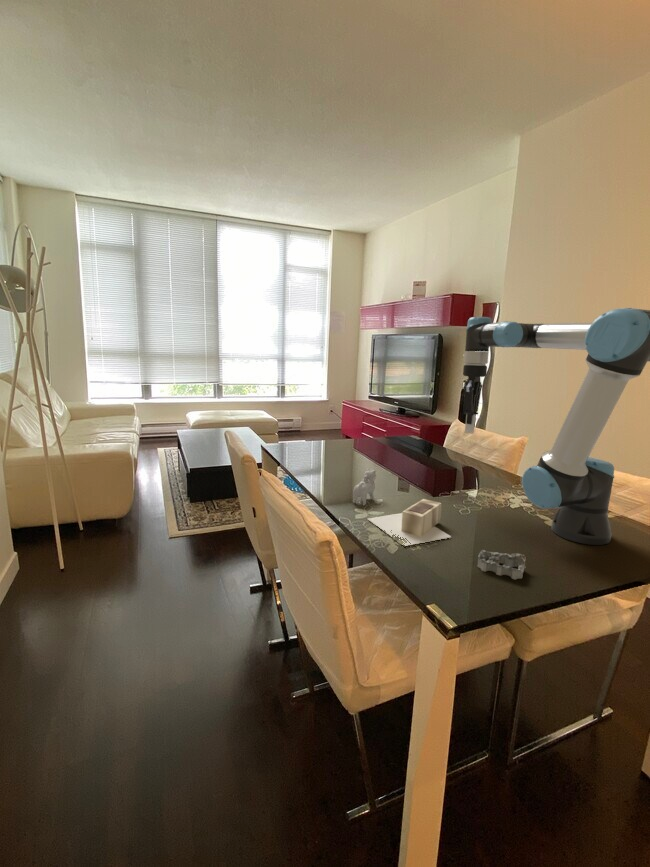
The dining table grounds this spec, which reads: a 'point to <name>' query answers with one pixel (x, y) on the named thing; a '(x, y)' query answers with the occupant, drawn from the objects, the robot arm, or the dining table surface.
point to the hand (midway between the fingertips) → (469, 432)
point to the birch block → (421, 517)
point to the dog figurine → (365, 486)
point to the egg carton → (506, 559)
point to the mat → (395, 525)
